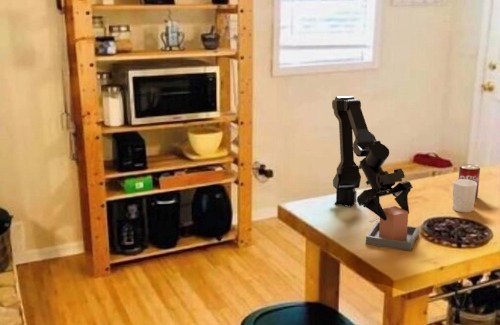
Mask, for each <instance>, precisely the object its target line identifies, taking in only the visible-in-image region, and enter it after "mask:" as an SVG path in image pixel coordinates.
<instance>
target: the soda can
mask: <svg viewBox="0 0 500 325" xmlns="http://www.w3.org/2000/svg"><path fill="white" fill-rule="evenodd" d="M480 175H481V168H480V166H479V165H476V164H471V163H464V164H461V165H460V166H459V167H458V176H457V177H458V179H467V180H472V181H475V182H476V183H477V189H476V196H475V200H476V199H477V198H478V194H479V183H480ZM458 179H457V180H458Z"/></svg>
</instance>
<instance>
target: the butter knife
mask: <svg viewBox="0 0 500 325" xmlns="http://www.w3.org/2000/svg"><path fill="white" fill-rule="evenodd" d="M378 219H380V217H379V216H378V215H376V216H375V217H374V218H372V219H369V220H368V222H369V223H373V222H374V221H376V220H377V221H378Z"/></svg>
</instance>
